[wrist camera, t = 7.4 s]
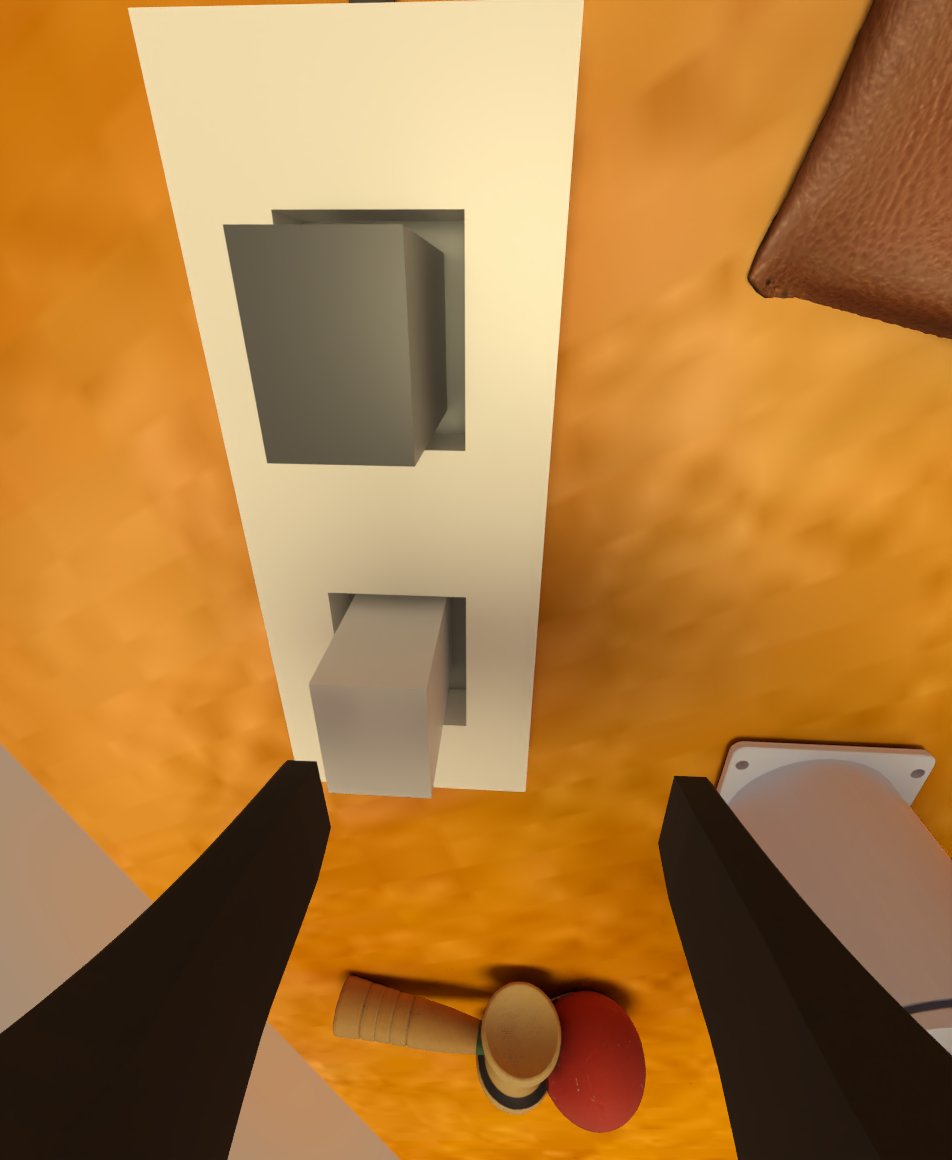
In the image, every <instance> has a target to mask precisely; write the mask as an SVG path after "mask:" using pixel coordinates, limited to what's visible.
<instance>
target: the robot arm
mask: <svg viewBox="0 0 952 1160" xmlns="http://www.w3.org/2000/svg"><path fill="white" fill-rule="evenodd" d="M739 761H741V762H739ZM935 762H936V761H935V758H934V757H933V756H932V755H931V754H930V753H929V752H928V751H926V750H922V749H901V748H879V747H858V746H836V745H815V744H793V743H771V742H750V741H741V742H737V743H735V744H734V745H732V746H731V748H730V750H729V753H728V756H727V759H726V762H725V765H724V768H723V771H722V774H721V777H720V780H719V783H718V786H717V790H716V788H715V787H714V786H713V784H712V783H711V782H710V781H709V780H708V779H707V778H706V777H687V776H674V780H673V784H672V788H671V792H670V796H669V801H668V805H667V809H666V813H665V817H664V821H663V826H662V830H661V834H660V838H659V842H658V844H659V850H660V856H661V861H662V867H663V872H664V877H665V882H666V888H667V893H668V898H669V902H670V905H671V908H672V912H673V915H674V919H675V922H676V926H677V929H678V932H679V936H680V939H681V942H682V946H683V949H684V952H685V956H686V959H687V962H688V966H689V969H690V972H691V976H692V979H693V982H694V986H695V989H696V992H697V996H698V999H699V1002H700V1005H701V1009H702V1012H703V1015H704V1019H705V1022H706V1025H707V1029H708V1032H709V1035H710V1039H711V1043H712V1047H713V1050H714V1054H715V1058H716V1062H717V1065H718V1069H719V1074H720V1078H721V1083H722V1087H723V1092H724V1096H725V1101H726V1106H727V1110H728V1115H729V1119H730V1124H731V1128H732V1133H733V1138H734V1142H735V1147H736V1152H737V1157H738V1160H952V860H951V858H950V857H949V856H948V855H947V853H946V852H945V851H944V849H943V848H942V847H941V846H940V844H939V843H938V842H937V841H936V839H935V838H934V837H933V835H932V834H931V833H930V832H929V830H928V829H927V828H926V827H925V825H924V824H923V823H922V822H921V820H920V819H919V818H918V816H917V815H916V814H915V813H914V811H913V810H912V809H911V808H910V806H911V804H912V802H913V801H914V799H915V797H916V796H917V794H918V792H919V791H920V789H921V787H922V786H923V784H924V782H925V781H926V779H927V777H928V775H929V774H930V772H931V770H932V769H933V767H934V765H935ZM330 829H331V826H330V821H329V816H328V812H327V807H326V802H325V798H324V793H323V788H322V784H321V779H320V774H319V770H318V765H317V761H295V760H288V761H286V762H285V763H284V764H283V765H282V766H281V767H280V769H279V770H278V771H277V772H276V773H275V774H274V775H273V776H272V778H271V779H270V780H269V781H268V782H267V783H266V784H265V786H264V787H263V788H262V789H261V790H260V791H259V792H258V794H257V795H256V796H255V797H254V798H253V799H252V800H251V802H250V803H249V804H248V805H247V806H246V807H245V808H244V809H243V810H242V812H241V813H240V814H239V815H238V816H237V817H236V818H235V819H234V820H233V822H232V823H231V824H230V825H229V826H228V827H227V828H226V829H225V830H224V831H223V832H222V833H221V834H220V836H219V837H218V838H217V839H216V840H215V841H214V842H213V843H212V844H211V845H210V846H209V847H208V848H207V849H206V851H205V852H204V853H203V854H202V855H201V856H200V857H199V858H198V859H197V860H196V861H195V862H194V863H193V864H192V865H191V866H190V867H189V868H188V869H187V870H186V871H185V872H184V873H183V874H182V875H181V876H180V877H179V878H178V879H177V880H176V881H175V882H174V883H173V884H172V885H171V886H170V887H169V888H168V889H167V890H166V891H165V892H164V893H163V894H162V895H161V896H160V897H159V898H158V899H157V900H156V901H155V902H154V903H153V904H152V905H151V906H150V907H149V908H148V909H147V910H146V911H144V912H143V914H141V915H140V916H139V917H138V918H137V919H136V920H135V921H134V922H133V923H132V924H131V925H129V927H127V928H126V929H125V930H124V931H123V932H122V933H121V934H120V935H119V936H117V937H116V938H115V939H114V940H113V941H112V942H111V943H109V944H108V945H107V946H106V947H105V948H104V949H103V950H102V951H100V952H99V953H98V954H97V955H96V956H95V957H94V958H93V959H91V960H90V961H89V962H88V963H87V964H85V966H83V967H82V968H81V969H80V970H78V971H77V972H76V973H75V974H74V975H72V976H71V977H70V978H69V979H68V980H66V981H65V982H64V983H63V984H62V985H60V986H59V987H58V988H57V989H56V990H54V991H53V992H52V993H51V994H50V995H49V996H47V997H46V998H45V999H44V1000H42V1001H41V1002H40V1003H39V1004H37V1005H36V1006H35V1007H34V1008H33V1009H31V1010H30V1011H29V1012H27V1013H26V1014H25V1015H24V1016H22V1017H21V1018H20V1019H19V1020H17V1021H16V1022H15V1023H14V1024H12V1025H11V1026H10V1027H9V1028H7V1029H6V1030H4V1031H3V1032H2V1033H1V1034H0V1160H227V1159H228V1155H229V1151H230V1148H231V1143H232V1140H233V1136H234V1133H235V1129H236V1125H237V1121H238V1117H239V1114H240V1110H241V1106H242V1102H243V1099H244V1096H245V1092H246V1088H247V1085H248V1081H249V1078H250V1074H251V1071H252V1067H253V1064H254V1060H255V1056H256V1053H257V1050H258V1046H259V1042H260V1039H261V1036H262V1033H263V1029H264V1027H265V1024H266V1021H267V1018H268V1015H269V1012H270V1009H271V1006H272V1003H273V1000H274V998H275V995H276V992H277V989H278V987H279V984H280V981H281V979H282V976H283V973H284V971H285V968H286V965H287V962H288V960H289V957H290V954H291V952H292V949H293V946H294V944H295V941H296V938H297V935H298V933H299V930H300V927H301V925H302V922H303V919H304V916H305V914H306V911H307V908H308V905H309V903H310V900H311V897H312V894H313V892H314V889H315V886H316V883H317V880H318V877H319V873H320V869H321V865H322V861H323V858H324V854H325V850H326V845H327V841H328V837H329V833H330Z"/></svg>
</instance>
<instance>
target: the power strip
mask: <svg viewBox="0 0 952 1160" xmlns="http://www.w3.org/2000/svg"><path fill="white" fill-rule="evenodd" d="M583 6H584V0H482V1H434V2H394V0H349V3H337V4H289V5H241V6H192V7H144V8H128V10H129V15H130V19H131V24H132V28H133V33H134V37H135V42H136V46H137V51H138V55H139V60H140V64H141V69H142V73H143V78H144V82H145V87H146V91H147V96H148V100H149V105H150V109H151V114H152V119H153V123H154V128H155V132H156V137H157V141H158V146H159V150H160V155H161V159H162V164H163V168H164V173H165V177H166V182H167V186H168V191H169V195H170V200H171V204H172V209H173V213H174V218H175V222H176V227H177V231H178V236H179V240H180V245H181V249H182V254H183V258H184V263H185V267H186V272H187V277H188V281H189V286H190V290H191V295H192V299H193V304H194V308H195V313H196V317H197V322H198V326H199V331H200V335H201V340H202V344H203V349H204V353H205V358H206V362H207V367H208V371H209V376H210V380H211V385H212V389H213V394H214V398H215V403H216V407H217V412H218V416H219V421H220V425H221V430H222V434H223V439H224V444H225V448H226V453H227V457H228V462H229V466H230V471H231V475H232V480H233V484H234V489H235V493H236V498H237V502H238V507H239V511H240V516H241V520H242V525H243V529H244V534H245V538H246V543H247V547H248V552H249V556H250V561H251V565H252V570H253V574H254V579H255V583H256V588H257V592H258V597H259V602H260V606H261V611H262V615H263V620H264V624H265V629H266V633H267V638H268V642H269V647H270V651H271V656H272V660H273V665H274V669H275V674H276V678H277V683H278V687H279V692H280V696H281V701H282V705H283V710H284V714H285V719H286V723H287V728H288V732H289V737H290V741H291V746H292V750H293V755H294V760H295V761H317V765H318V770H319V774H320V779H321V781H323V782H326V777H325V771H324V766H323V760H322V755H321V749H320V744H319V738H318V733H317V727H316V722H315V716H314V711H313V705H312V700H311V695H310V689H309V682H310V680H311V678H312V676H313V675H314V673H315V671H316V669H317V667H318V665H319V663H320V661H321V659H322V657H323V655H324V654H325V652H326V650H327V648H328V646H329V644H330V642H331V640H332V638H333V636H334V635H335V633H336V631H337V629H338V627H339V625H340V623H341V621H342V619H343V617H344V615H345V614H346V612H347V610H348V608H349V606H350V604H351V602H352V600H353V598H354V596H355V594H381V595H411V596H440V597H451V633H452V672H451V678H450V684H449V691H448V697H447V703H446V710H445V716H444V722H443V729H442V735H441V742H440V748H439V754H438V761H437V767H436V773H435V780H434V786H433V787H438V788H457V789H477V790H496V791H515V792H525V791H526V777H527V764H528V750H529V737H530V723H531V710H532V696H533V683H534V669H535V656H536V642H537V629H538V615H539V602H540V588H541V575H542V561H543V547H544V534H545V520H546V507H547V493H548V480H549V466H550V453H551V439H552V426H553V412H554V399H555V385H556V372H557V358H558V345H559V331H560V318H561V304H562V290H563V277H564V263H565V250H566V236H567V223H568V209H569V196H570V182H571V169H572V155H573V142H574V128H575V115H576V101H577V88H578V74H579V61H580V47H581V33H582V20H583Z"/></svg>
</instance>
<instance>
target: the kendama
mask: <svg viewBox="0 0 952 1160" xmlns="http://www.w3.org/2000/svg"><path fill="white" fill-rule="evenodd" d="M556 999H557V1003H556V1004H555V1005H553V1003H552V1001H554V1000H556ZM333 1033H334V1036H338V1037H343V1038H352V1039H360V1038H361V1039H362V1040H367V1041H376V1042H380V1043H385V1044H390V1043H391V1044H393V1045H397V1046H403V1047H405V1046H406V1045H407V1047H410V1048H414V1049H420V1050H427V1051H435V1052H444V1053H458V1054H474V1055H476V1065H477V1072H478V1077H479V1080H480V1084H481V1086H482V1088H483V1090H484V1092H485V1094H486V1096H487V1097H488V1098H489V1100H490V1101H491V1102H492V1103H493V1104H494V1105H495V1106H496V1107H498V1108H499V1109H500V1110H502V1111H504V1112H507V1113H510V1114H524V1113H526V1112H529V1111H531V1110H533V1109H534V1108H535V1107H537V1106H538V1105H539V1104H540V1103H541V1101H542V1100H543V1099H544V1097H545V1096H546V1094H547V1092H548V1094H549V1096H550V1097H551V1099H552V1101H553V1102H554V1104H555V1105H556V1107H557V1108H558V1109H559V1110H560V1112H561V1113H562V1114H563V1115H564V1116H565V1117H566V1118H567V1119H569V1120H570V1121H571V1122H572V1123H574V1124H575V1125H577V1126H578V1127H580V1128H582V1129H585V1130H587V1131H591V1132H598V1133H601V1132H609V1131H613V1130H615V1129H618V1128H620V1127H621V1126H623V1125H624V1124H625V1123H627V1122H628V1121H629V1120H630V1119H631V1117H632V1116H633V1115H634V1113H635V1112H636V1111H637V1109H638V1107H639V1105H640V1102H641V1099H642V1096H643V1092H644V1087H645V1078H646V1068H645V1059H644V1053H643V1048H642V1043H641V1040H640V1038H639V1035H638V1033H637V1031H636V1028H635V1027H634V1025H633V1023H632V1021H631V1020H630V1018H629V1016H628V1015H627V1014H626V1012H625V1011H624V1010H623V1009H622V1008H621V1007H620V1006H619V1005H618V1003H616V1002H615V1001H613V1000H612V999H610V998H608V997H607V996H605V995H603V994H600V993H597V992H593V991H577V992H569V993H566V994H563V995H561V996H559V997H555V998H553V999H549V998H548V997H547V995H546V994H545V993H544V992H543V991H542V990H541V989H539V988H538V987H536V986H534V985H532V984H530V983H526V982H511V983H508V984H506V985H504V986H503V987H501V988H500V989H498V990H497V991H496V992H495V993H494V994H493V996H492V997H491V998H490V1000H489V1002H488V1004H487V1007H486V1009H485V1012H484V1015H483V1019H482V1021H481V1020H479V1019H477V1018H475V1017H472V1016H470V1015H468V1014H465V1013H463V1012H460V1011H458V1010H456V1009H453V1008H451V1007H448V1006H445V1005H443V1004H440V1003H437V1002H434V1001H431V1000H428V999H424V998H421V997H417V998H416V997H415V996H414V995H411V994H408V993H405V992H402V993H401V991H398V990H396V989H393V988H388V987H386V986H383V985H380V984H377V983H376V984H374V983H373V982H371V981H368V980H366V979H363V978H360V977H357V976H353V975H350V976H349V977H348V979H347V980H346V982H345V983H344V985H343V988H342V990H341V993H340V996H339V1000H338V1003H337V1006H336V1010H335V1016H334V1022H333Z"/></svg>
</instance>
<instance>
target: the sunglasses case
mask: <svg viewBox="0 0 952 1160" xmlns="http://www.w3.org/2000/svg"><path fill="white" fill-rule="evenodd" d="M748 280H749V281H750V283H751V285H752V286H753V288H754V290H755V291H756V292H757V293H758V294H760V295H761V296H763V297H764V298H773V297H778V298H794V297H797V298H799V299H802V300H809V301H811V302H814V303H817V304H821V305H824V306H830V307H832V308H834V309H840V310H841V311H848V312H850V313H856V314H857V315H859V316H863V317H869V318H872V319H879V320H881V321H883V322H886V323H890V324H897V325H899V326H902V327H904V328H910V329H913V330H918V331H921V332H923V333H925V334H932V335H936V336H938V337H944V338H949V339H952V0H875V1H874V4H873V6H872V9H871V11H870V13H869V15H868V17H867V19H866V22H865V24H864V26H863V28H862V29H861V31H860V33H859V37H858V40H857V43H856V45H855V47H854V50H853V52H852V54H851V56H850V58H849V61H848V64H847V67H846V69H845V71H844V74H843V77H842V79H841V82H840V84H839V87H838V89H837V91H836V94H835V97H834V99H833V101H832V103H831V105H830V107H829V110H828V112H827V114H826V116H825V118H824V120H823V122H822V124H821V126H820V128H819V130H818V132H817V134H816V137H815V139H814V141H813V143H812V145H811V147H810V150H809V152H808V154H807V156H806V159H805V161H804V162H803V165H802V168H801V169H800V171H799V172H798V175H797V178H796V180H795V182H794V184H793V187H792V189H791V191H790V192H789V194H788V196H787V198H786V200H785V202H784V204H783V206H782V208H781V210H780V211H779V213H778V214H777V215H776V216H775V217H774V219H773V221H772V223H771V225H770V227H769V229H768V231H767V233H766V235H765V237H764V239H763V241H762V243H761V245H760V247H759V250H758V252H757V254H756V257H755V259H754V262H753V265H752V268H751V271H750V274H749V277H748Z"/></svg>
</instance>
